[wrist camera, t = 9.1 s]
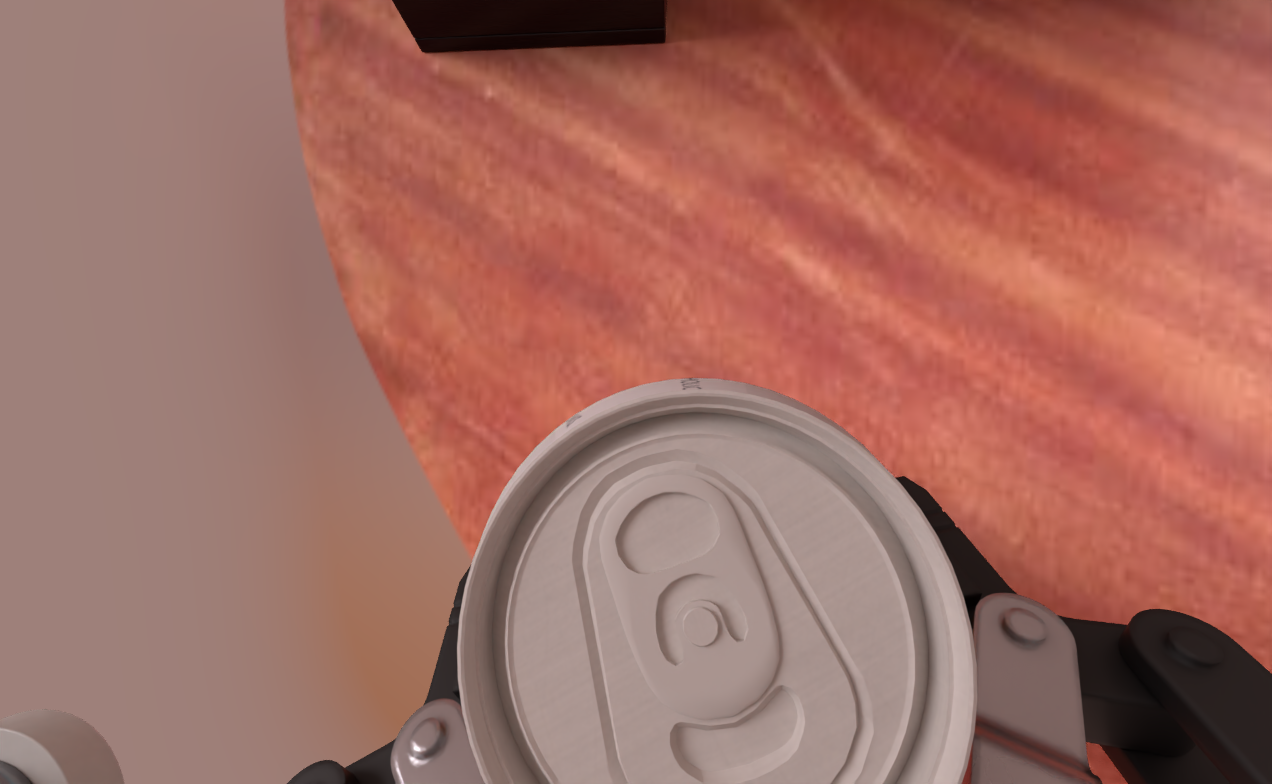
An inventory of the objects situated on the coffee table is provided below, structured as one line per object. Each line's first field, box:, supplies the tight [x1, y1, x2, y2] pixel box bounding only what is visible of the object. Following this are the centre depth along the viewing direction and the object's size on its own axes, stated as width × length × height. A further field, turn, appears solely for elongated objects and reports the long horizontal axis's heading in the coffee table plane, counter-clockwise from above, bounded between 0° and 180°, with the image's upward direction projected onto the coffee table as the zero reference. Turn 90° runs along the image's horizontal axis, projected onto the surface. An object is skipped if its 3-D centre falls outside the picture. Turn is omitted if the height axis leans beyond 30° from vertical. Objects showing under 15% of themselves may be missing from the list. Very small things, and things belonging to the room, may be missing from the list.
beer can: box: [457, 378, 977, 784], centre depth 12 cm, size 6×6×15 cm
